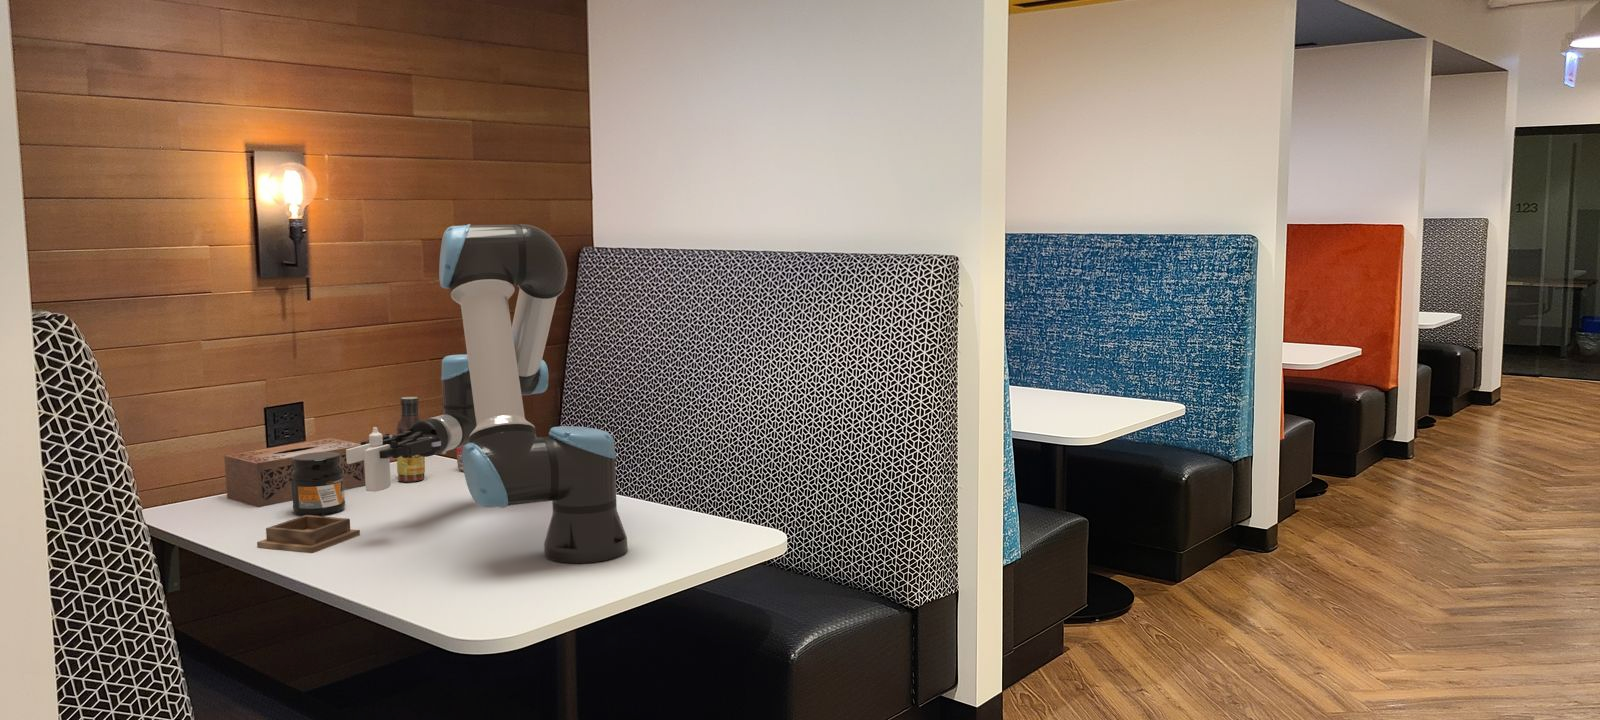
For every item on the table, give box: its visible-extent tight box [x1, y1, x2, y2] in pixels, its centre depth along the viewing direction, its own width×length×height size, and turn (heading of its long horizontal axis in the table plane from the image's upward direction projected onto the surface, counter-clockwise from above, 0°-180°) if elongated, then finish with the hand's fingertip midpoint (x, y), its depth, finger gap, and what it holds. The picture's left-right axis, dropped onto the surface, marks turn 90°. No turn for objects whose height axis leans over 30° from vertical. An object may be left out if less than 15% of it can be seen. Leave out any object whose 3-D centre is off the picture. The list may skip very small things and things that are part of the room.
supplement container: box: [290, 452, 346, 516], centre depth 251 cm, size 10×10×12 cm
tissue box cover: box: [223, 437, 366, 508], centre depth 269 cm, size 26×14×10 cm, turn 142°
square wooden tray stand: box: [256, 515, 361, 554], centre depth 227 cm, size 13×13×4 cm
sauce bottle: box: [396, 396, 426, 483], centre depth 279 cm, size 7×6×20 cm
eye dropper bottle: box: [364, 426, 392, 493], centre depth 226 cm, size 4×6×12 cm
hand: (357, 457), depth 220 cm, fingers closed on eye dropper bottle, 3 cm apart
